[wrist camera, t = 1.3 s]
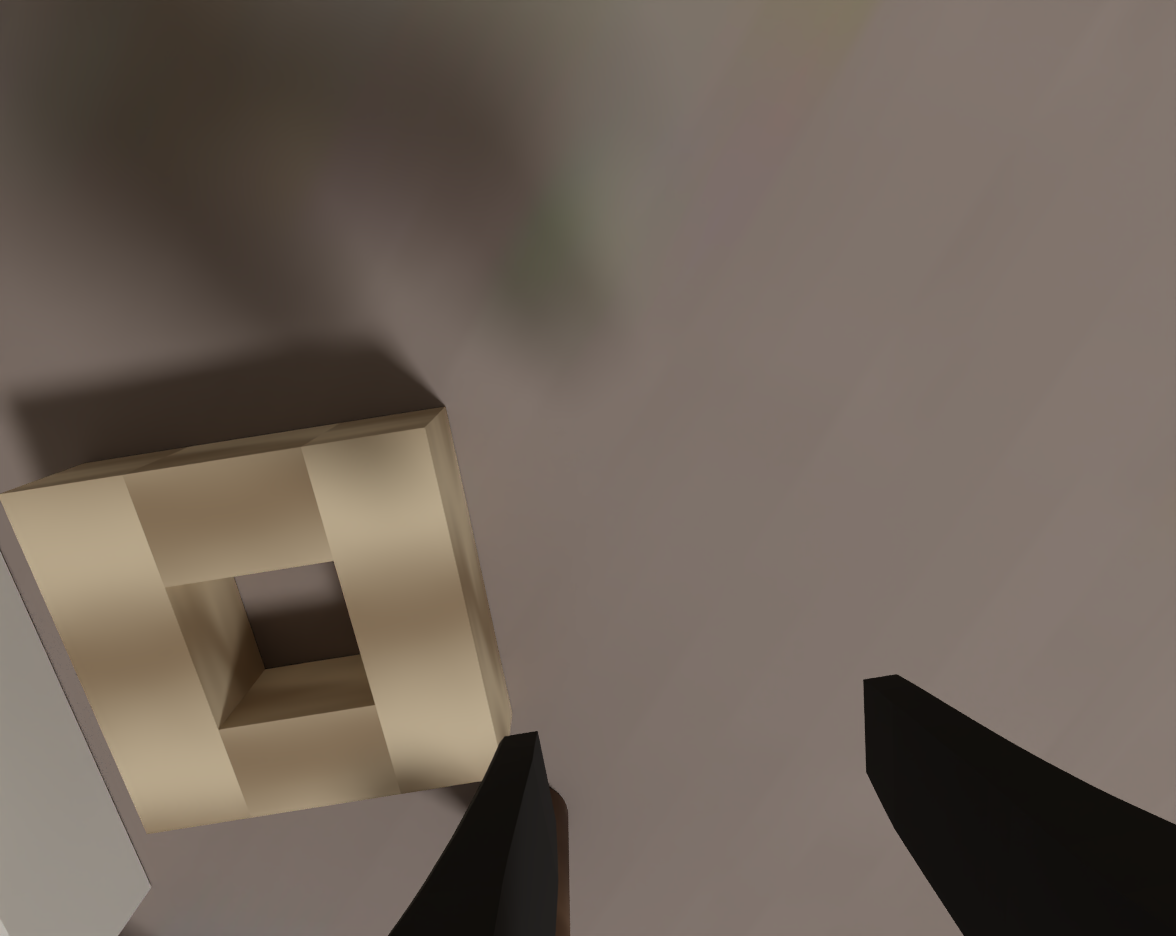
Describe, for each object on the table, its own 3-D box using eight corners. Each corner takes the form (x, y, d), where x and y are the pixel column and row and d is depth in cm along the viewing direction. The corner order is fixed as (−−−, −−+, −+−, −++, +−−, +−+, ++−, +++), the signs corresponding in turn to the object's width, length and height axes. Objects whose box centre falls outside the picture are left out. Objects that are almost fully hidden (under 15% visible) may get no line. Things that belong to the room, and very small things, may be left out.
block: (512, 713, 22) (505, 777, 19) (201, 762, 22) (147, 834, 19) (445, 406, 19) (424, 427, 16) (84, 463, 19) (-3, 494, 16)
